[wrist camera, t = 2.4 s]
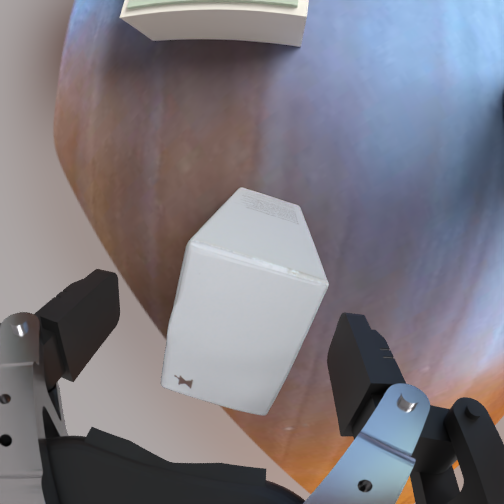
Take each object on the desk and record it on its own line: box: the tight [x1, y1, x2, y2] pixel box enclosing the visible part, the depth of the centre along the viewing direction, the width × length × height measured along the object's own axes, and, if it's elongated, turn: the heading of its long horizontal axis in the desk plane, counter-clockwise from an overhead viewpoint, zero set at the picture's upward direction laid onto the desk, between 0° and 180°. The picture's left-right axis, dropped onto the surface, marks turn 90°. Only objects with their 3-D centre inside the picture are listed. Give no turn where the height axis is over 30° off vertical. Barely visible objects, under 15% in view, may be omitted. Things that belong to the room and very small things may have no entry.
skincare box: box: [161, 187, 329, 415], centre depth 14 cm, size 6×4×12 cm
